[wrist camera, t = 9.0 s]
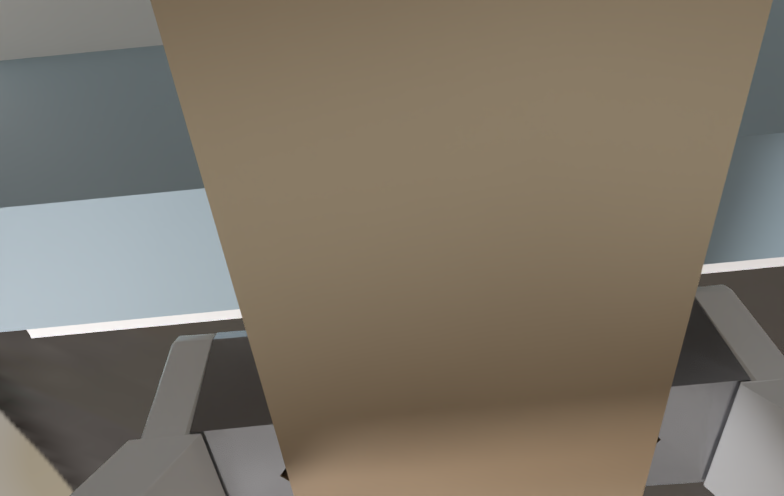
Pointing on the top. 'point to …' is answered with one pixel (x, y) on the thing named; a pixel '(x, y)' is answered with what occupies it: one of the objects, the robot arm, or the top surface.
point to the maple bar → (464, 224)
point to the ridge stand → (184, 182)
